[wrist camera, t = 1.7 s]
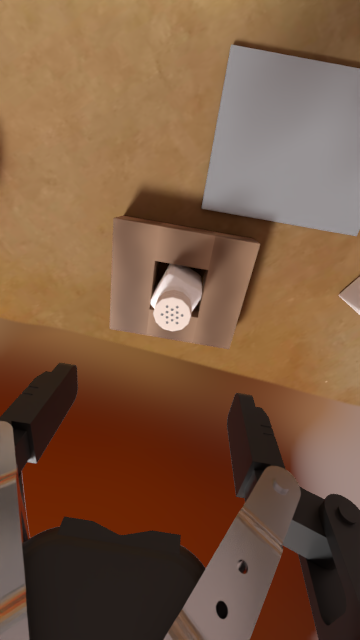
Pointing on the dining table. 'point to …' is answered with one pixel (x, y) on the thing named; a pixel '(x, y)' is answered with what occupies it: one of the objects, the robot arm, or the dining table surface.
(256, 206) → the placemat
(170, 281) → the salt shaker
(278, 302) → the dining table surface
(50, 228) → the dining table surface
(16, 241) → the dining table surface
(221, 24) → the dining table surface
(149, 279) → the shaker holder
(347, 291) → the milk carton
